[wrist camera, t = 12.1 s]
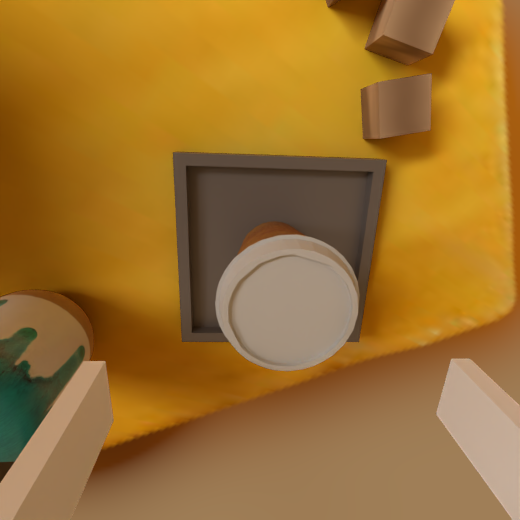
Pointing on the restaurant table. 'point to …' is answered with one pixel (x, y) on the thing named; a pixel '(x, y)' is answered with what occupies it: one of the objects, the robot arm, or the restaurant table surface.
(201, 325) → the tray
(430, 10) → the cube
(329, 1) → the cube
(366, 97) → the cube
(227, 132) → the restaurant table surface
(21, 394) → the vase
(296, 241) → the disposable coffee cup
